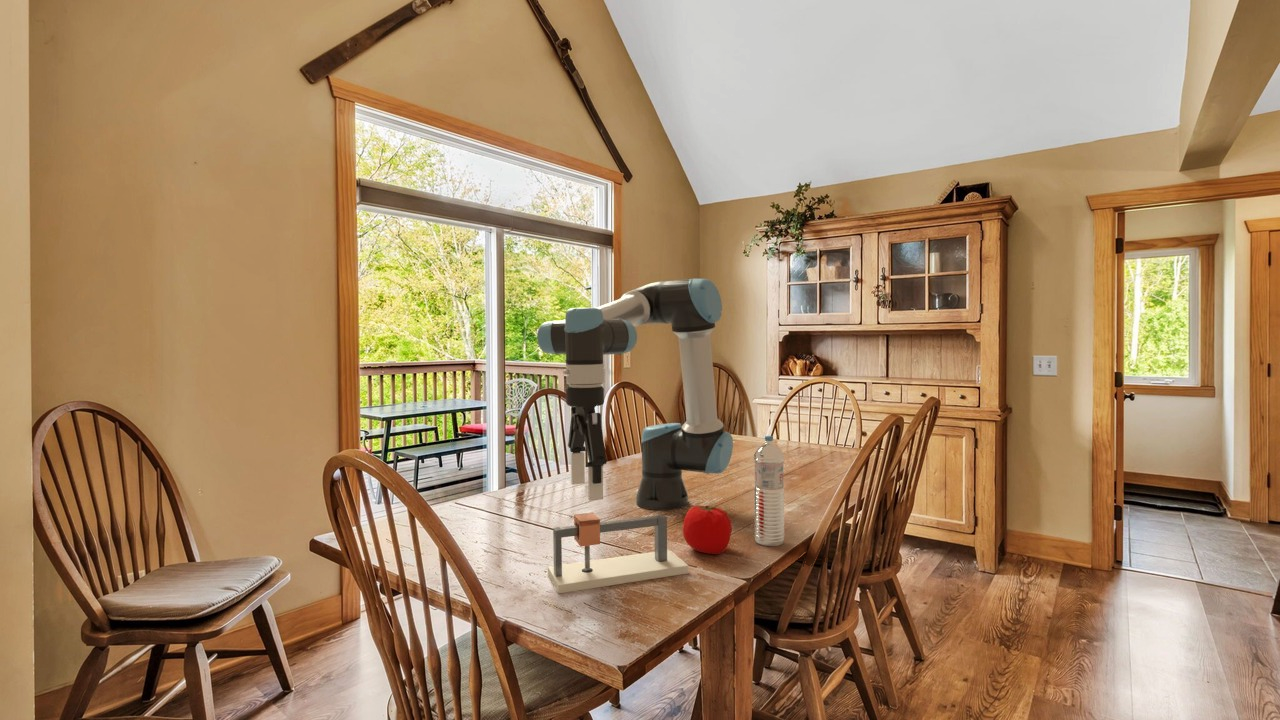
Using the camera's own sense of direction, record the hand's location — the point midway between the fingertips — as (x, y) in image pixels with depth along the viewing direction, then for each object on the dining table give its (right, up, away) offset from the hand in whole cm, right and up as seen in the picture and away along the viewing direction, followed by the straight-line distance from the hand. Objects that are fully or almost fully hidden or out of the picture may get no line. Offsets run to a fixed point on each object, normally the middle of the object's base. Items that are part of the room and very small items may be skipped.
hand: (586, 491), depth 120 cm
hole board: (+6, -18, +3) cm, 19 cm away
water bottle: (+41, -17, +21) cm, 49 cm away
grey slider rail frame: (+5, -16, +2) cm, 17 cm away
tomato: (+26, -17, +16) cm, 35 cm away
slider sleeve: (0, -15, 0) cm, 15 cm away
